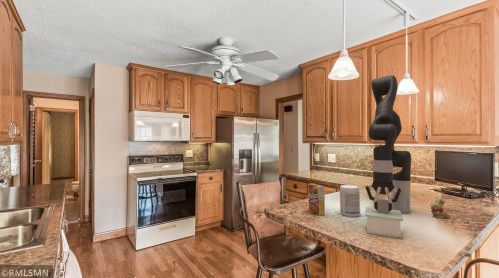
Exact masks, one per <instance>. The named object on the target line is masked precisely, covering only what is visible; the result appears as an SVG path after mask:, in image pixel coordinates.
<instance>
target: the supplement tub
mask: <svg viewBox="0 0 499 278" xmlns="http://www.w3.org/2000/svg"><path fill="white" fill-rule="evenodd" d="M360 193H361V192H360V186H357V185H351V184H349V185H348V184H347V185H346V184H344V185H343V184H342V185H340V187H339V199H340V200H339V201H340V202H339V203H340V204H339V205H340V206H339V207H340V208H339V210H340V214H341V215H342V216H344V217H350V218H351V217H352V218H356V217H359V216H360V215H361V201H360V200H361V199H360V198H361V197H360V196H361V195H360Z"/></svg>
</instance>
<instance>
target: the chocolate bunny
mask: <svg viewBox="0 0 499 278" xmlns="http://www.w3.org/2000/svg"><path fill="white" fill-rule="evenodd" d="M445 203H446V201H445V200H444V199H442V197H439V198H438V199H437V200H435V201H434V202H432V203H431V205H430V209H431V210H430V212H431V214H432V217H433V218H435V219H440V220H442V219H443V220H444V219H445V220H446V219H447V220H448V219H450V218H451V216H450V214H449V211H447V210H445V209H443V205H444V204H445Z"/></svg>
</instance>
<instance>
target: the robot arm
mask: <svg viewBox="0 0 499 278" xmlns="http://www.w3.org/2000/svg"><path fill="white" fill-rule="evenodd" d="M398 86H399V84H398V80H397V77H396V75H394V74H391V75H385V76H381V77H377V78H373V79H372V80H371V90H372V93H373V98H374V100H375V105H376V107H375V109H374V110H375V113H374V119H373V120H372V123H371V125H370V126H369V128H368V137H369V138H370V140H372V141H377V142H378V141H382V142H383V141H384V144H383V145H378V146H374V147H373V152H372V153H373V161H372V163H373V164H372V183H371V184H370V185H365V190H366V193H367V195H368V198H369V200H370V201H373V208H375V209H376V210H377V211H378V199H379V197H380V196H381V195H384V196H386V197H387V200H388V212H390V211H392V210H400V212H401V214H411V210H412V209H411V204H412V203H411V176H412V173H411V172H412V154H411V152H410V151H409V150H396V149H395V143H396V141H397V139H398V137H399V136H400V134H401V133H402V128H403V127H402V121H401V118H400V115H399V114H398V113H397V112H396V111H395V110H394V104H395V100H396V98H397V92H398V88H399V87H398ZM383 96H384V97H383ZM394 168H401V170H400V171H398V172H395V173H394V172H393V171H394ZM372 189H373V190H374V192H375V195H374V196H373V195H372V192H371V191H372Z"/></svg>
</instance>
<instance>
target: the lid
mask: <svg viewBox="0 0 499 278" xmlns="http://www.w3.org/2000/svg"><path fill="white" fill-rule="evenodd" d="M377 201H378V211H377V210H376V209H375V208H374V206H365V211H364V217H365V218H367V217H370V218H378V219H386V220H394V221H400V223H401V222H402V223H403V222H404V218H403V215H402V213H401V212H400V210H392V211H390V212H388V199H381V198H378V199H377Z"/></svg>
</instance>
